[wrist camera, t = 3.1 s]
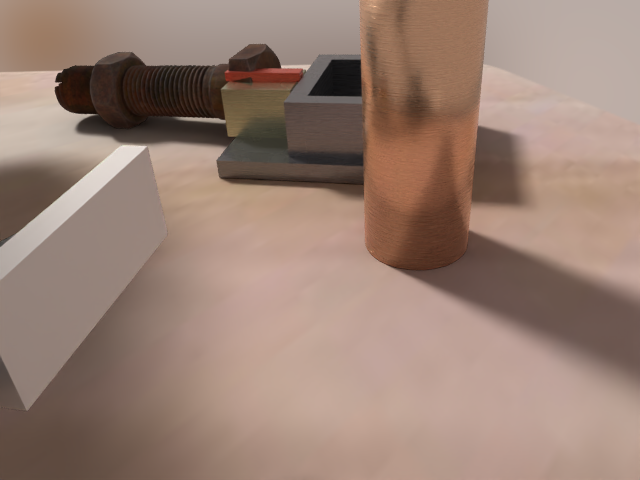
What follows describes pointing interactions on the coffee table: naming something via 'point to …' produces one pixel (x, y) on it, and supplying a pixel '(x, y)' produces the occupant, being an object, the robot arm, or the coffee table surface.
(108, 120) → the bolt
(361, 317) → the coffee table surface
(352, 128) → the grey box on baseplate
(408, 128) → the pipe stub
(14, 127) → the coffee table surface
